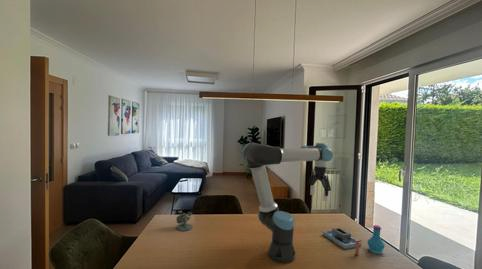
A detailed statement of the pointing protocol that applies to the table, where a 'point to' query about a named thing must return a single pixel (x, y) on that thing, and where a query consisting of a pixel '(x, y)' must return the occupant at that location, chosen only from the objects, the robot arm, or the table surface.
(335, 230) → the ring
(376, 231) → the perfume bottle
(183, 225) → the figurine
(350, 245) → the tray
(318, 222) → the table surface
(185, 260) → the table surface
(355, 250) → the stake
